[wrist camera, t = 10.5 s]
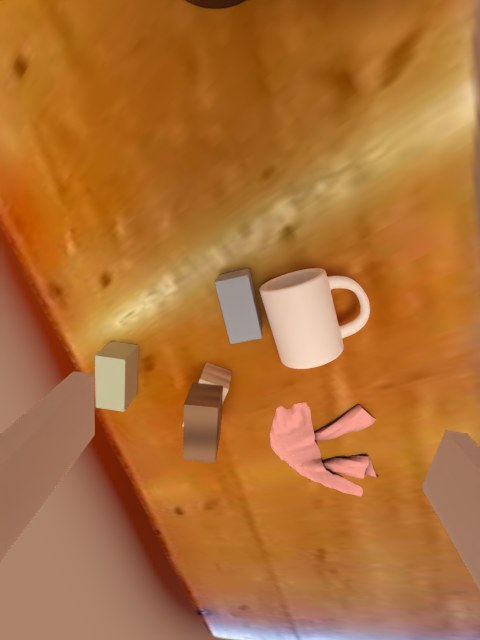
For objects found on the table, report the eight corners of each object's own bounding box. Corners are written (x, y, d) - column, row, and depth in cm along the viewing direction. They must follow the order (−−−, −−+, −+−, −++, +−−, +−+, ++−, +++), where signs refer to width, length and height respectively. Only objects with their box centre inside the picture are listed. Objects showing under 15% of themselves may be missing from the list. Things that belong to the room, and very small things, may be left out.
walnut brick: (192, 382, 42) (183, 404, 38) (223, 385, 42) (218, 407, 37) (191, 433, 45) (183, 459, 40) (220, 436, 45) (215, 462, 40)
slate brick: (219, 274, 43) (214, 282, 38) (249, 267, 42) (247, 275, 37) (234, 329, 45) (230, 344, 40) (262, 324, 44) (262, 338, 40)
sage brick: (111, 340, 47) (95, 355, 42) (139, 344, 47) (125, 359, 42) (111, 388, 49) (95, 407, 45) (137, 392, 49) (124, 411, 45)
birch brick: (206, 361, 47) (199, 378, 42) (232, 371, 47) (228, 389, 42) (190, 405, 49) (182, 426, 45) (214, 414, 50) (209, 435, 45)
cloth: (258, 397, 49) (257, 406, 47) (409, 377, 46) (416, 386, 44) (279, 500, 55) (280, 513, 53) (414, 488, 52) (420, 500, 50)
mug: (279, 348, 45) (283, 376, 38) (259, 281, 42) (258, 296, 35) (366, 325, 43) (387, 350, 36) (350, 254, 41) (370, 264, 33)
